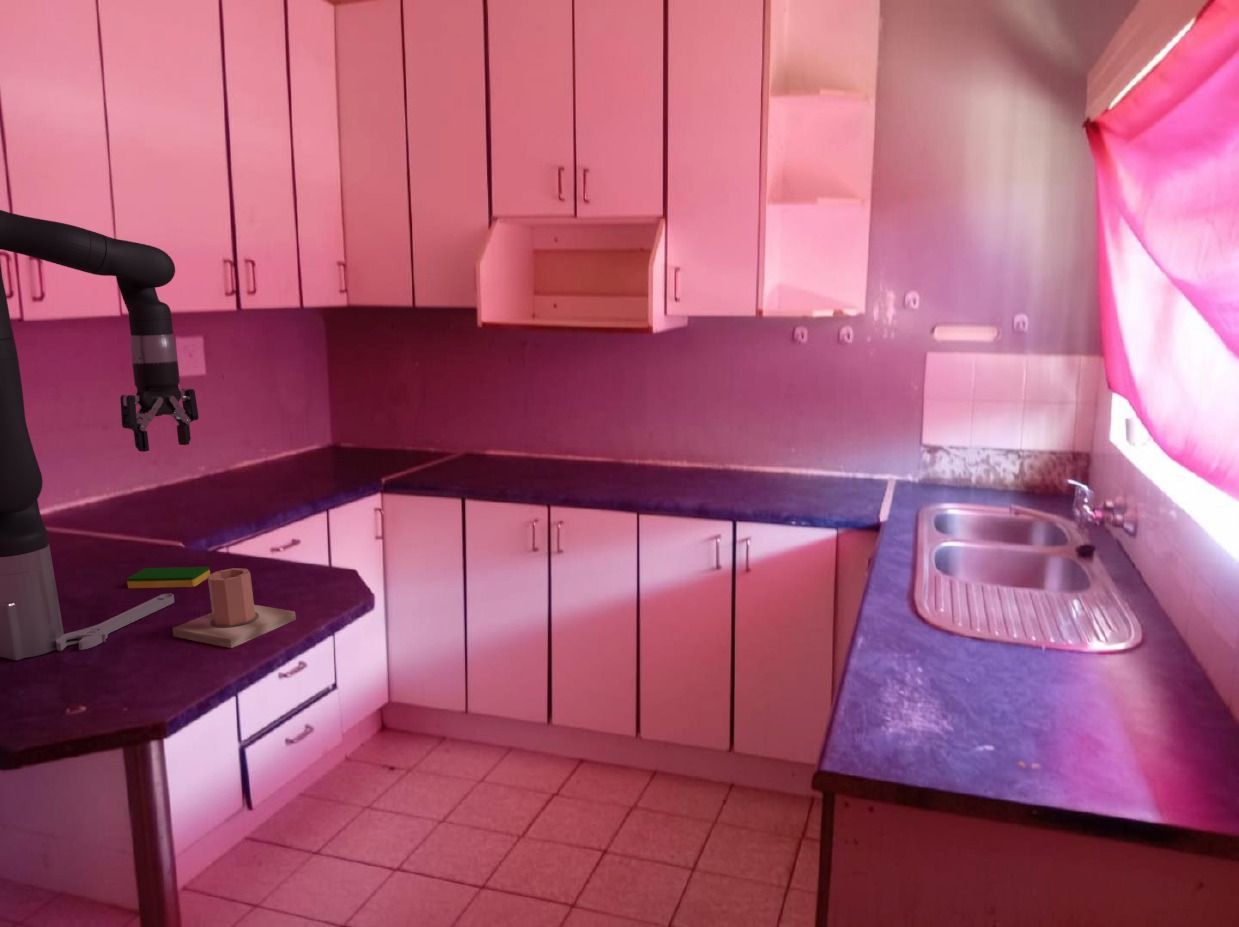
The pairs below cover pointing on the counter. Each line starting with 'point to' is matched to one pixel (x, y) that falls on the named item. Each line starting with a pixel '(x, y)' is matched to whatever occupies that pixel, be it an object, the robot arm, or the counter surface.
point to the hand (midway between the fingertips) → (164, 447)
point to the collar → (231, 596)
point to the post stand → (234, 627)
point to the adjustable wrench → (112, 624)
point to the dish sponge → (168, 577)
